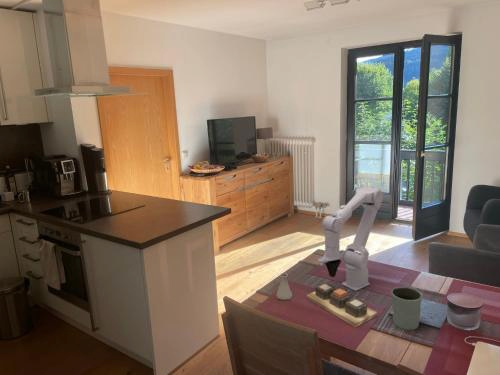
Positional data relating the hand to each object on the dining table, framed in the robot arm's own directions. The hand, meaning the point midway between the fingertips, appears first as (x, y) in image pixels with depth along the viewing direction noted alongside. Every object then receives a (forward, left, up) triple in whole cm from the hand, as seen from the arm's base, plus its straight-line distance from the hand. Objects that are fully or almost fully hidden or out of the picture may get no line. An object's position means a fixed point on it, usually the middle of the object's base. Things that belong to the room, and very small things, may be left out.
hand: (332, 276), depth 152 cm
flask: (+15, -13, -10) cm, 22 cm away
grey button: (+3, +15, -7) cm, 17 cm away
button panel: (+3, +7, -9) cm, 12 cm away
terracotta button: (+3, +7, -6) cm, 10 cm away
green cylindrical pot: (-7, +29, -10) cm, 31 cm away
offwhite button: (+3, -1, -7) cm, 8 cm away
